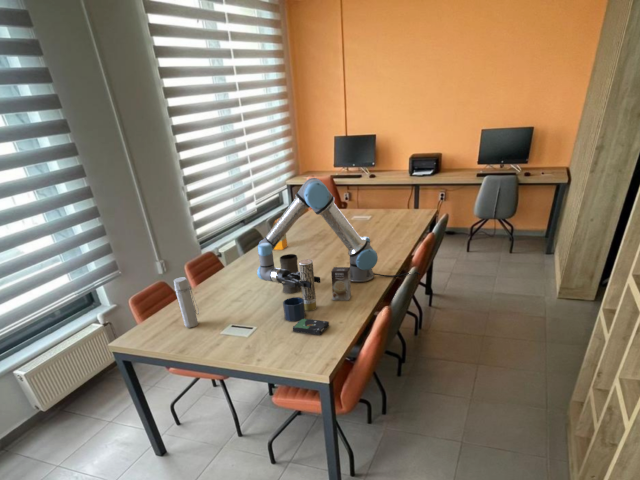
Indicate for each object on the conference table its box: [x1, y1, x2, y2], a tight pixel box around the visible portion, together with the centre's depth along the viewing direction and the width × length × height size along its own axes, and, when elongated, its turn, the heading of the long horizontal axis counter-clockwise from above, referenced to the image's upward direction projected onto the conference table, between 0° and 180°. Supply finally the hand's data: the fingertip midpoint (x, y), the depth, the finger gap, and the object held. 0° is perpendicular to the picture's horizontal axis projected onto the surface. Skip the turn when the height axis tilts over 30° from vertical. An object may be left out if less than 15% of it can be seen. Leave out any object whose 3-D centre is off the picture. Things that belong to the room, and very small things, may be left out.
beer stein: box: [279, 253, 302, 294], centre depth 258 cm, size 15×11×20 cm
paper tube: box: [298, 258, 317, 312], centre depth 230 cm, size 7×7×25 cm
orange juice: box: [270, 217, 288, 251], centre depth 328 cm, size 8×9×20 cm
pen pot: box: [282, 296, 306, 322], centre depth 229 cm, size 10×10×8 cm
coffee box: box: [330, 266, 352, 301], centre depth 239 cm, size 9×6×16 cm
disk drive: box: [292, 318, 330, 336], centre depth 217 cm, size 10×3×15 cm
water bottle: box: [173, 276, 200, 329], centre depth 232 cm, size 9×8×25 cm
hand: (315, 282), depth 226 cm, fingers closed on paper tube, 7 cm apart
